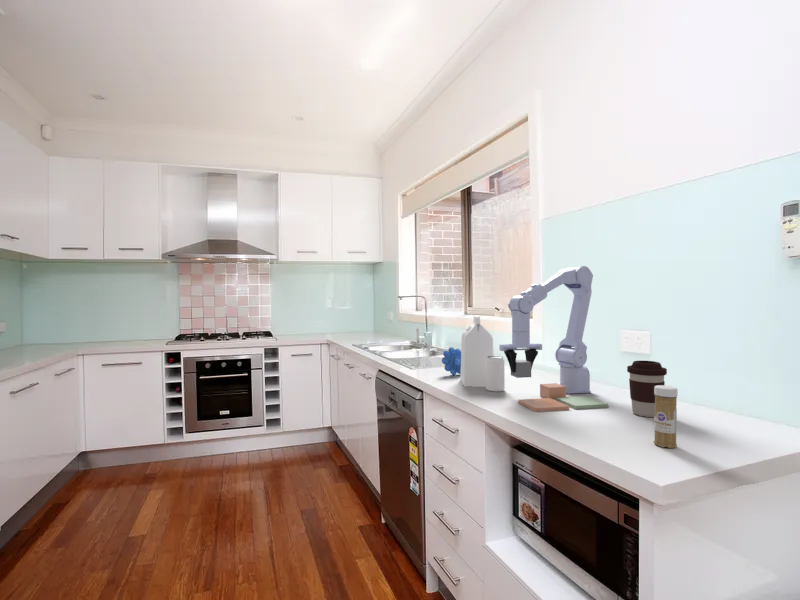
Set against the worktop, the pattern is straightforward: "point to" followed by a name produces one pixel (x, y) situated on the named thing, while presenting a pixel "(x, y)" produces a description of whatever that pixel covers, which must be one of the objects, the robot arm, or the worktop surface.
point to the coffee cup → (645, 386)
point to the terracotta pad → (543, 404)
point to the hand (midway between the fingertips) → (520, 371)
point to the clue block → (552, 390)
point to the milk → (475, 354)
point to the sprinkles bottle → (665, 416)
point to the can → (495, 374)
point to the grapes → (452, 360)
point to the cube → (522, 369)
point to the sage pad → (581, 402)
